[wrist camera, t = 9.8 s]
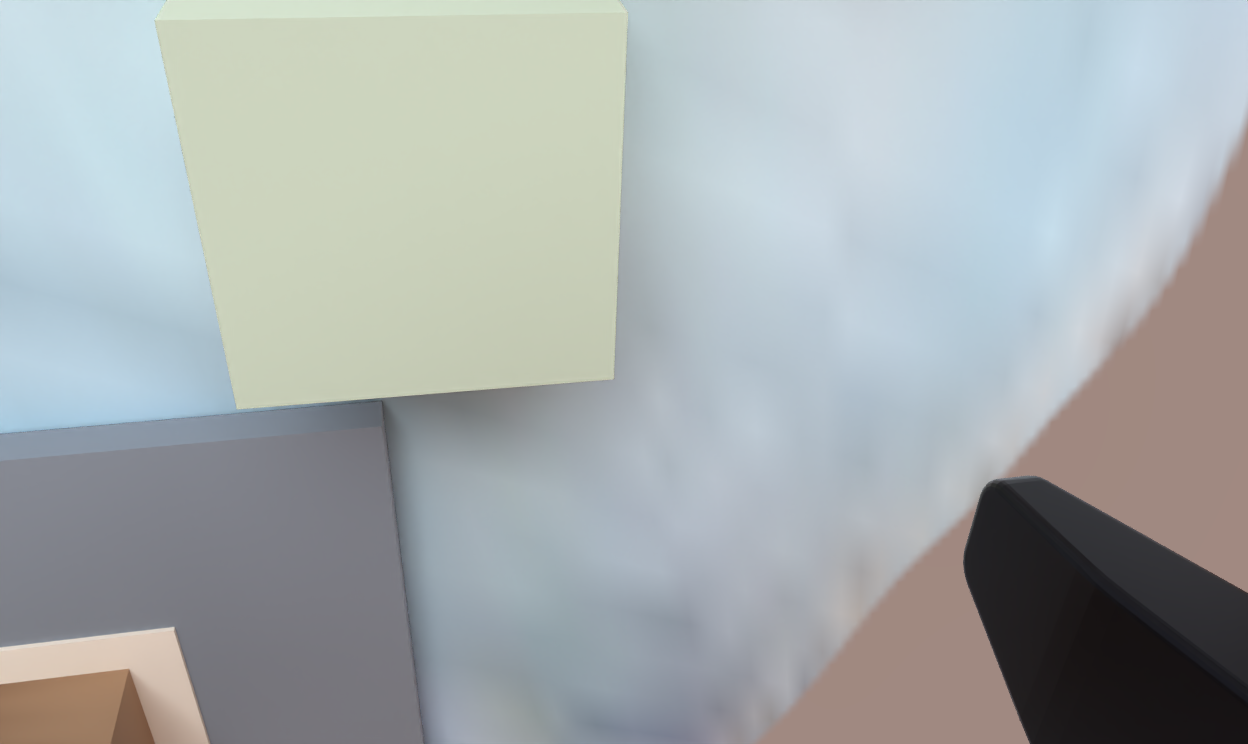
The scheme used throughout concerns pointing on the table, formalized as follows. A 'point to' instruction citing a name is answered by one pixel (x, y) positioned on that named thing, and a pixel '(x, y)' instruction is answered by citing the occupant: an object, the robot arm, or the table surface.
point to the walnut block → (74, 711)
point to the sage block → (403, 189)
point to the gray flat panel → (215, 573)
